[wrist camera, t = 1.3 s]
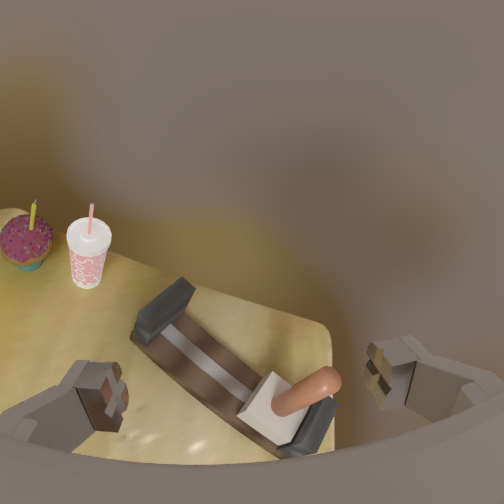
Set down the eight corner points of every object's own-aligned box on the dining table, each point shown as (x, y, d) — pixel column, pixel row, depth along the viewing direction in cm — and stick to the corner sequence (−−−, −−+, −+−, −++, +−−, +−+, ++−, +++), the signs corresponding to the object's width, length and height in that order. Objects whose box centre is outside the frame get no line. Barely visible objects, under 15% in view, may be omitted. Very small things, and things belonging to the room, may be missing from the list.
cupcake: (55, 238, 43) (56, 179, 35) (52, 283, 38) (47, 225, 30) (8, 237, 38) (0, 177, 30) (0, 282, 34) (-16, 223, 26)
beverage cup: (59, 277, 39) (56, 205, 30) (83, 252, 44) (90, 181, 35) (90, 300, 40) (94, 232, 30) (113, 273, 44) (126, 204, 35)
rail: (129, 338, 39) (136, 309, 34) (166, 306, 45) (180, 274, 40) (283, 461, 36) (318, 454, 31) (307, 419, 42) (340, 404, 37)
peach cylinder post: (236, 415, 36) (290, 384, 27) (262, 378, 41) (316, 337, 32) (278, 445, 35) (343, 423, 26) (300, 407, 40) (362, 373, 32)
